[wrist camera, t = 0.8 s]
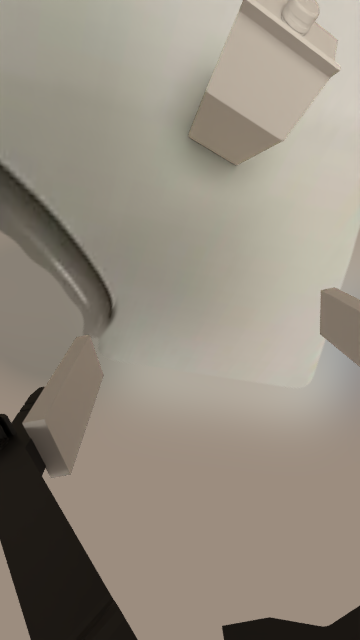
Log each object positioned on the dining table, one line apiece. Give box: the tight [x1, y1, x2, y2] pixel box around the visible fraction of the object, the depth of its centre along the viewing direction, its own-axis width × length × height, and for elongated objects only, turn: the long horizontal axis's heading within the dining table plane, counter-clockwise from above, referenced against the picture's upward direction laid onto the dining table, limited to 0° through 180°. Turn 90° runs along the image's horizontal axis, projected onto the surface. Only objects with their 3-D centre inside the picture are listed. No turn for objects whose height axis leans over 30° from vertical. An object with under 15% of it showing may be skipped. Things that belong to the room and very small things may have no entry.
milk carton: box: [188, 0, 341, 165], centre depth 25 cm, size 7×7×19 cm
